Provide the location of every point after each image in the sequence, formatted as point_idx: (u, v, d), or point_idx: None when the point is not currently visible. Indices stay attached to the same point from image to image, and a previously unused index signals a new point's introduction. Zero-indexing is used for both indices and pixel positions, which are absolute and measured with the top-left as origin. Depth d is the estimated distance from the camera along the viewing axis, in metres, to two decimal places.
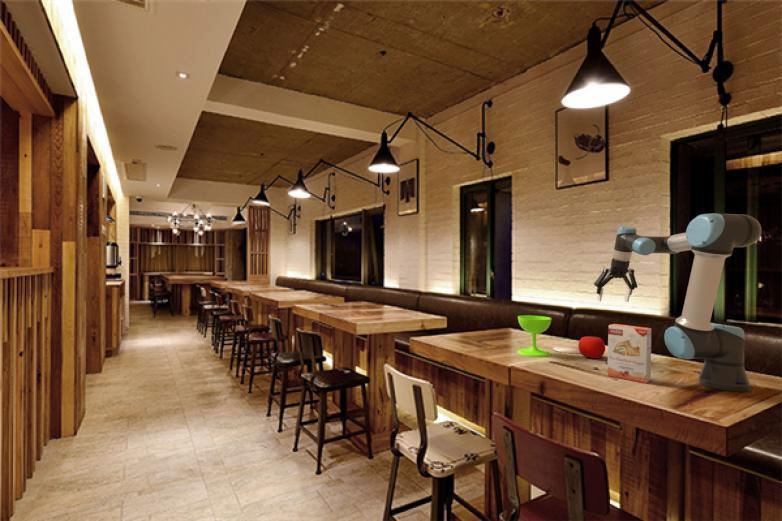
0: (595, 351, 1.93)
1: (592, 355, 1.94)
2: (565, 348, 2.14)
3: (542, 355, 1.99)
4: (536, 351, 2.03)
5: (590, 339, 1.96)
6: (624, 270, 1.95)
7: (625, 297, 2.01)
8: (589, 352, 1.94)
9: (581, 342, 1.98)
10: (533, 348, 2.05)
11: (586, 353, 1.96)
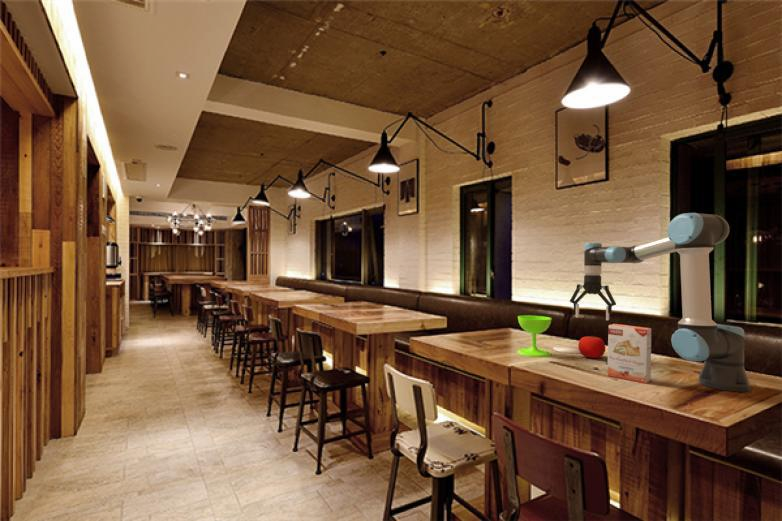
0: (595, 351, 1.93)
1: (592, 355, 1.94)
2: (565, 348, 2.14)
3: (542, 355, 1.99)
4: (536, 351, 2.03)
5: (590, 339, 1.96)
6: (596, 286, 1.97)
7: None
8: (589, 352, 1.94)
9: (581, 342, 1.98)
10: (533, 348, 2.05)
11: (586, 353, 1.96)
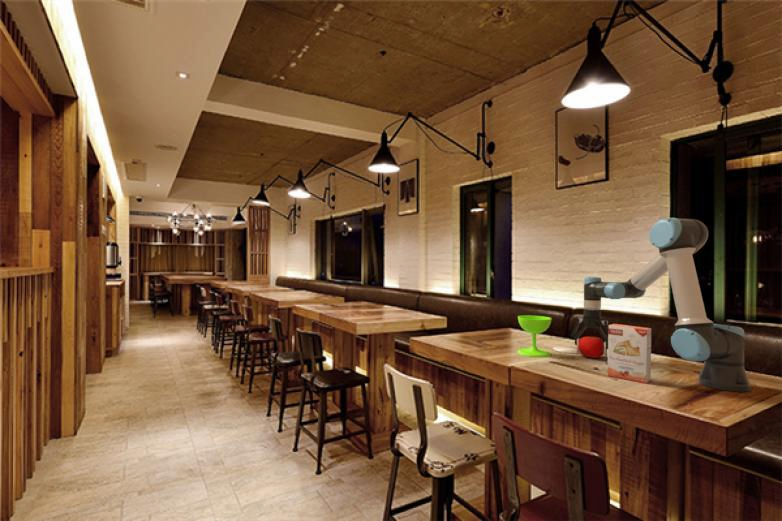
0: (595, 351, 1.93)
1: (592, 355, 1.94)
2: (565, 348, 2.14)
3: (542, 355, 1.99)
4: (536, 351, 2.03)
5: (590, 339, 1.96)
6: (596, 320, 1.97)
7: None
8: (589, 352, 1.94)
9: (581, 342, 1.98)
10: (533, 348, 2.05)
11: (586, 353, 1.96)
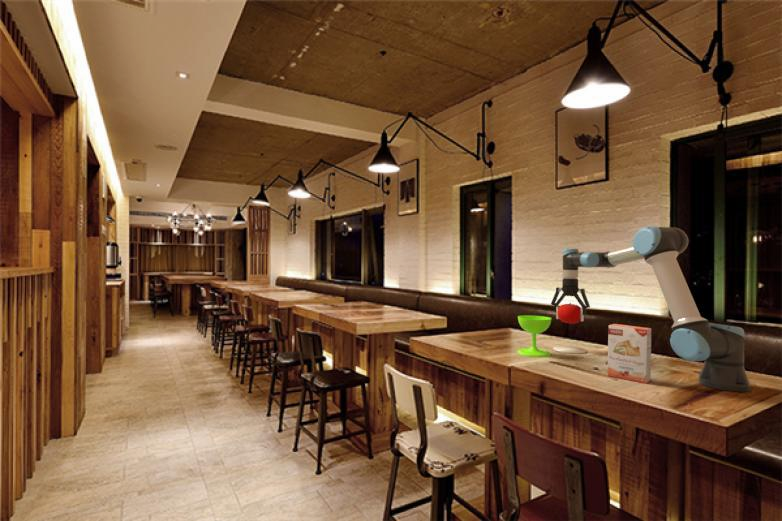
0: (572, 316, 2.08)
1: (570, 320, 2.10)
2: (565, 348, 2.14)
3: (542, 355, 1.99)
4: (536, 351, 2.03)
5: (568, 306, 2.11)
6: (573, 288, 2.12)
7: None
8: (567, 317, 2.09)
9: (560, 309, 2.13)
10: (533, 348, 2.05)
11: (564, 319, 2.11)
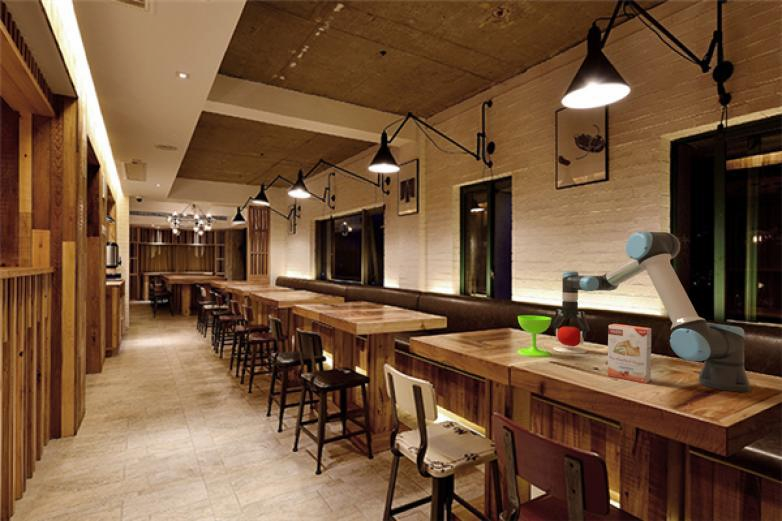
0: (572, 339, 2.08)
1: (569, 343, 2.10)
2: (565, 348, 2.14)
3: (542, 355, 1.99)
4: (536, 351, 2.03)
5: (568, 328, 2.11)
6: (573, 311, 2.12)
7: None
8: (566, 340, 2.09)
9: (559, 331, 2.13)
10: (533, 348, 2.05)
11: (564, 341, 2.11)
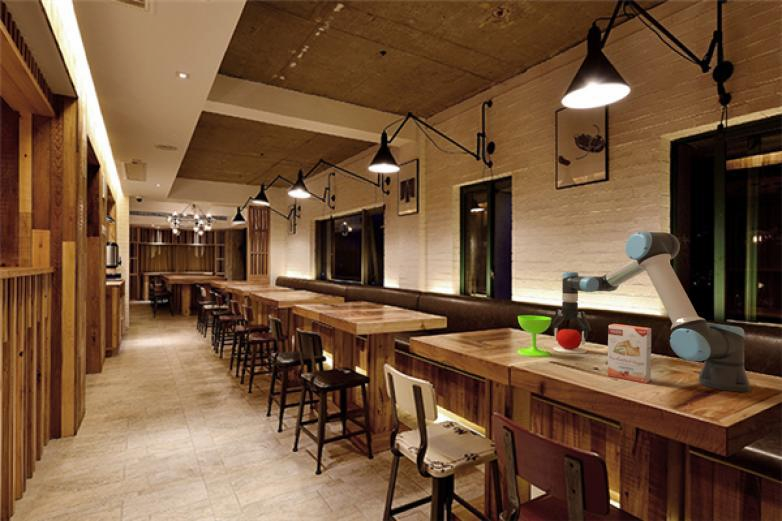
0: (572, 342, 2.08)
1: (569, 346, 2.10)
2: (565, 348, 2.14)
3: (542, 355, 1.99)
4: (536, 351, 2.03)
5: (567, 331, 2.11)
6: (573, 312, 2.12)
7: None
8: (566, 343, 2.09)
9: (559, 334, 2.13)
10: (533, 348, 2.05)
11: (564, 344, 2.11)
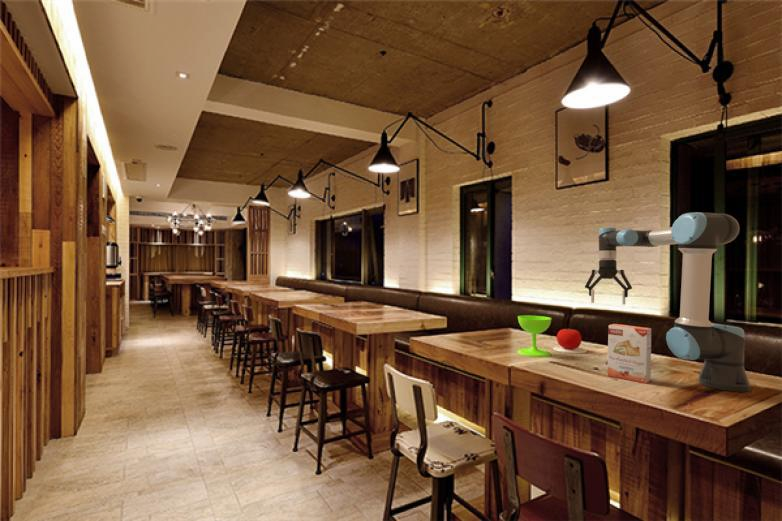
0: (572, 342, 2.08)
1: (569, 346, 2.10)
2: (565, 348, 2.14)
3: (542, 355, 1.99)
4: (536, 351, 2.03)
5: (567, 331, 2.11)
6: (612, 270, 1.97)
7: None
8: (566, 343, 2.09)
9: (559, 334, 2.13)
10: (533, 348, 2.05)
11: (564, 344, 2.11)
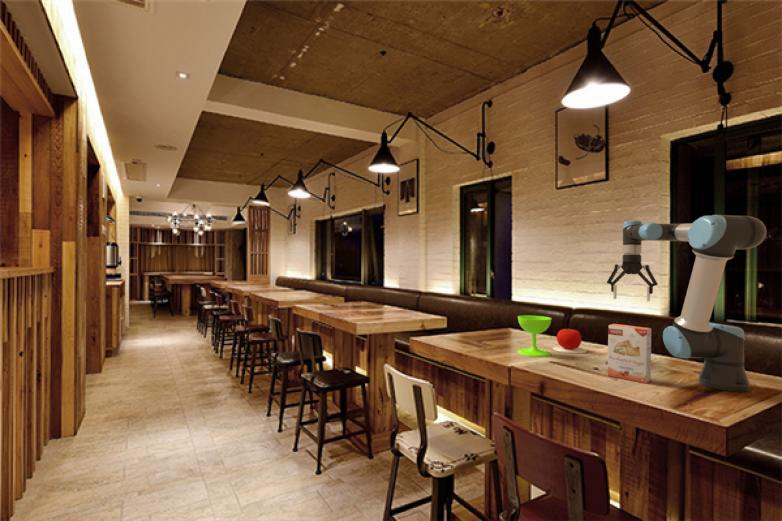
0: (572, 342, 2.08)
1: (569, 346, 2.10)
2: (565, 348, 2.14)
3: (542, 355, 1.99)
4: (536, 351, 2.03)
5: (567, 331, 2.11)
6: (636, 265, 1.89)
7: None
8: (566, 343, 2.09)
9: (559, 334, 2.13)
10: (533, 348, 2.05)
11: (564, 344, 2.11)
